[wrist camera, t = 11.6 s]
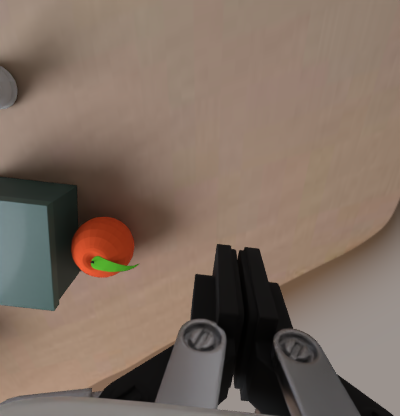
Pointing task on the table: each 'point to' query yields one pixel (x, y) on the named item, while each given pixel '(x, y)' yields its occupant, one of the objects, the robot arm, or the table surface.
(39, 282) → the box
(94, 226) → the clementine
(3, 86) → the rook chess piece
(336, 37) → the table surface
